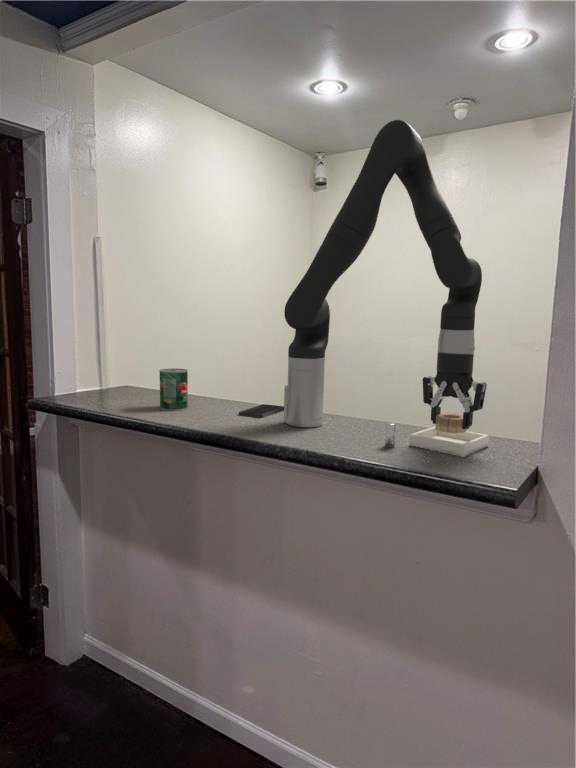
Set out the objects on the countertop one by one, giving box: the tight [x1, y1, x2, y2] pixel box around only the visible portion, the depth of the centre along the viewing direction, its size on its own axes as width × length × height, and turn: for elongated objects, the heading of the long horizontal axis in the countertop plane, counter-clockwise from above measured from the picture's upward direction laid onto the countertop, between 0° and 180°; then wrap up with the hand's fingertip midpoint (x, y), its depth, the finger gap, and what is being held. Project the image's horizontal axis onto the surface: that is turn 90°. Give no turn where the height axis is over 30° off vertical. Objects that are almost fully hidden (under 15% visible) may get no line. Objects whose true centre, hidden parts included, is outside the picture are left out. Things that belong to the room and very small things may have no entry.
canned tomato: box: [158, 368, 189, 412], centre depth 154 cm, size 8×8×11 cm
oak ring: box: [434, 413, 467, 433], centre depth 119 cm, size 6×6×3 cm
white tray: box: [408, 426, 490, 458], centre depth 119 cm, size 13×13×2 cm
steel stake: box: [384, 422, 397, 448], centre depth 118 cm, size 2×2×5 cm
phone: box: [238, 403, 284, 419], centre depth 152 cm, size 8×1×15 cm
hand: (450, 425), depth 119 cm, fingers closed on oak ring, 6 cm apart
